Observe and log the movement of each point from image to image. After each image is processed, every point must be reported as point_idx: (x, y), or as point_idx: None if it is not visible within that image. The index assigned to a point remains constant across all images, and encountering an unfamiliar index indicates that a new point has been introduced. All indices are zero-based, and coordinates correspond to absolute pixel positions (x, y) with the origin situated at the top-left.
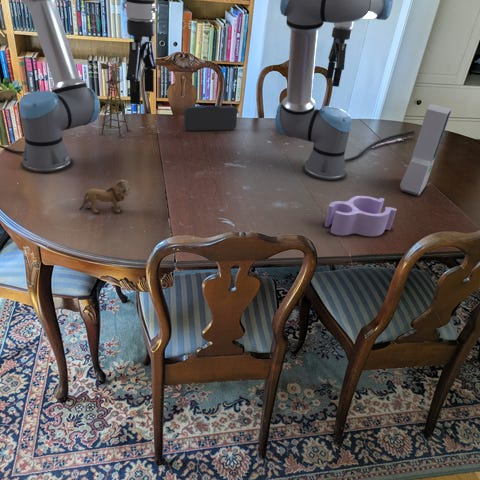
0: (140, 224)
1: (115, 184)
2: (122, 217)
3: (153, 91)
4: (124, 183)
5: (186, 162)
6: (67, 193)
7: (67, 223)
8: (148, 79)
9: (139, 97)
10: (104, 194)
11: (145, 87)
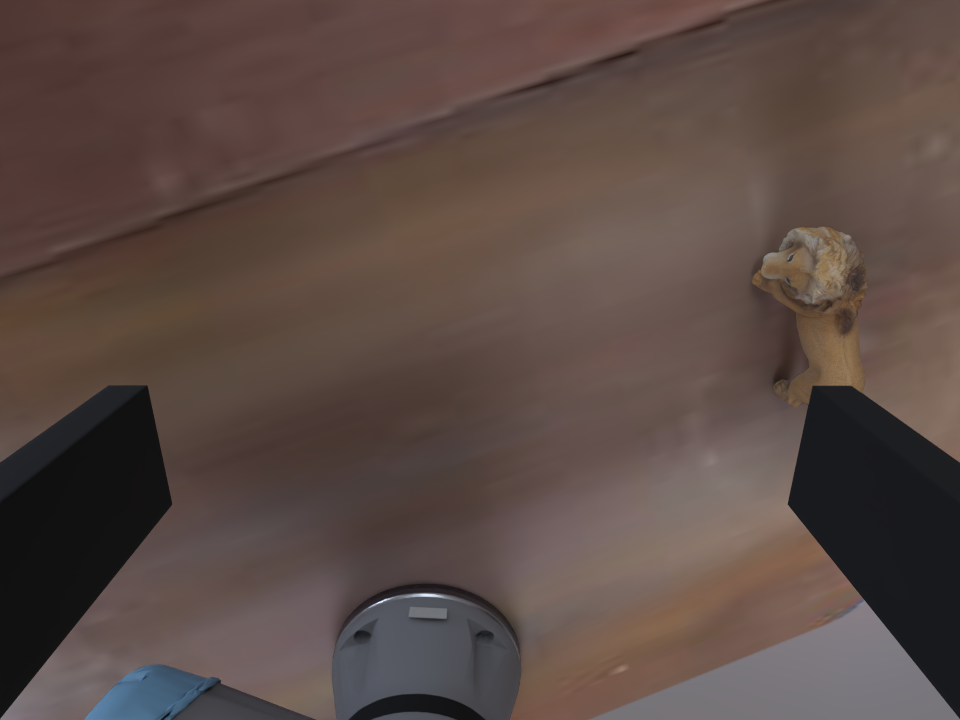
0: (906, 114)
1: (836, 302)
2: (845, 218)
3: (122, 387)
4: (851, 254)
5: (112, 59)
6: (663, 499)
7: (909, 409)
8: (40, 573)
9: (918, 437)
10: (857, 331)
11: (142, 525)
